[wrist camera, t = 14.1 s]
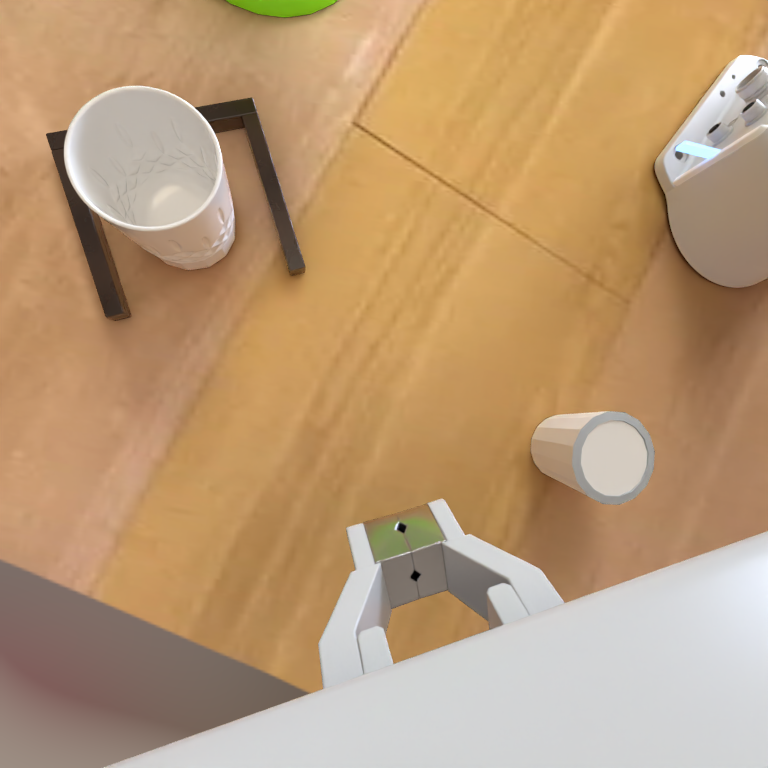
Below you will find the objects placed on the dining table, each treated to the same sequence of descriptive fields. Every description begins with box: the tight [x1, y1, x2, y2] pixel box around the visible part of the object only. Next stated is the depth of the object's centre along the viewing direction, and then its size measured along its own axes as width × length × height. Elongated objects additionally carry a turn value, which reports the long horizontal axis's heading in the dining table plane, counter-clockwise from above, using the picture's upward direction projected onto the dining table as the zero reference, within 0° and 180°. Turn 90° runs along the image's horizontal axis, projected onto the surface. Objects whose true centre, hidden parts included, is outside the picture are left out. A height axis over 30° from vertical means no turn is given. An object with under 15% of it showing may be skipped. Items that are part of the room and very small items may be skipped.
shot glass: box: [531, 411, 655, 505], centre depth 36 cm, size 7×7×7 cm
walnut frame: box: [46, 98, 305, 321], centre depth 33 cm, size 13×14×2 cm
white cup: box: [64, 86, 236, 270], centre depth 29 cm, size 8×8×10 cm
